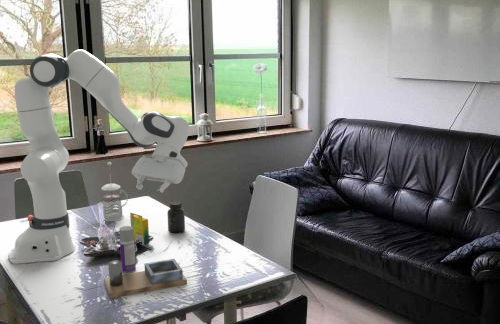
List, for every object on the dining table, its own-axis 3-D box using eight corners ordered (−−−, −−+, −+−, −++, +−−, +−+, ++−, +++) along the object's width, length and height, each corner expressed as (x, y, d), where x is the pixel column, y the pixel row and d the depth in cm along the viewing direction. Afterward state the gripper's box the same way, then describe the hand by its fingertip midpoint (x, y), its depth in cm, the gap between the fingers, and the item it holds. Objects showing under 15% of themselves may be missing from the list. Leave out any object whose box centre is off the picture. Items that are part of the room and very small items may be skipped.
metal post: (111, 287, 164) (109, 266, 163) (109, 282, 168) (107, 261, 166) (124, 285, 166) (122, 264, 164) (121, 280, 169) (120, 259, 168)
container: (120, 268, 181) (117, 227, 178) (134, 266, 183) (131, 225, 180) (123, 274, 177) (120, 231, 174) (137, 271, 179) (134, 229, 176)
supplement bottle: (188, 232, 216) (187, 203, 213) (172, 235, 212) (171, 206, 209) (180, 227, 221) (179, 199, 219) (165, 230, 218) (164, 202, 215)
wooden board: (110, 298, 161) (109, 284, 160) (104, 282, 171) (103, 269, 170) (186, 283, 170) (186, 270, 169) (176, 269, 181) (176, 257, 180)
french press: (103, 214, 238) (99, 159, 233) (129, 213, 240) (126, 159, 234) (99, 221, 229) (95, 165, 223) (127, 220, 230) (123, 164, 224)
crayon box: (149, 243, 204) (148, 214, 201) (143, 245, 202) (142, 216, 199) (137, 239, 209) (135, 210, 206) (131, 241, 206) (129, 212, 204)
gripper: (137, 149, 194) (121, 182, 188) (183, 154, 184) (167, 189, 178) (146, 159, 199) (130, 191, 193) (191, 164, 189) (176, 198, 183)
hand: (148, 190), depth 185 cm, fingers open, 8 cm apart
